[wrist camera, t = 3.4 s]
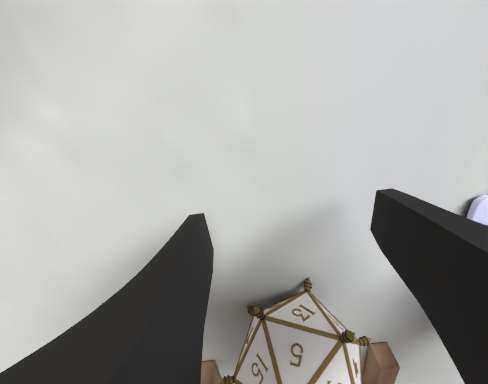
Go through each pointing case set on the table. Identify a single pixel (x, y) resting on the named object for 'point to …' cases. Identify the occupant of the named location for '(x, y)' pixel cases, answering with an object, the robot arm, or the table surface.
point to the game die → (298, 346)
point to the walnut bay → (374, 376)
